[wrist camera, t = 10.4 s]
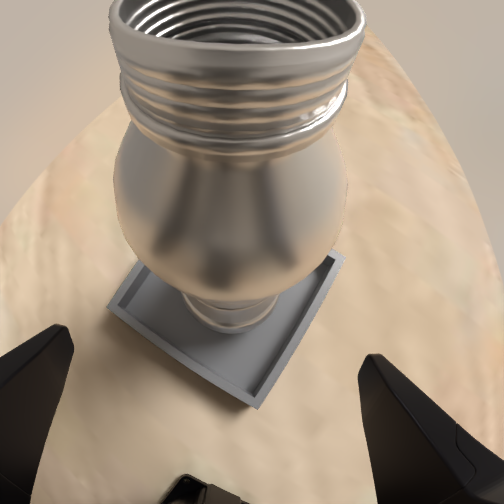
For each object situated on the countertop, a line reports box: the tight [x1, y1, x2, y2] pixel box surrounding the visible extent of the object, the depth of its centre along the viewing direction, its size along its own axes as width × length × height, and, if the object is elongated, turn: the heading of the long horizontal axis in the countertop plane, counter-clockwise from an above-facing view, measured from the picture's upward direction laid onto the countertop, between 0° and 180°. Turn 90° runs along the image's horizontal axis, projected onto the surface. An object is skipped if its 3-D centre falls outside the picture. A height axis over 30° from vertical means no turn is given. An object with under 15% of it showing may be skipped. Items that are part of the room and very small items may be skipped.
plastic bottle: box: [109, 0, 367, 334], centre depth 12 cm, size 6×7×20 cm
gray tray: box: [107, 249, 346, 410], centre depth 21 cm, size 12×12×2 cm
